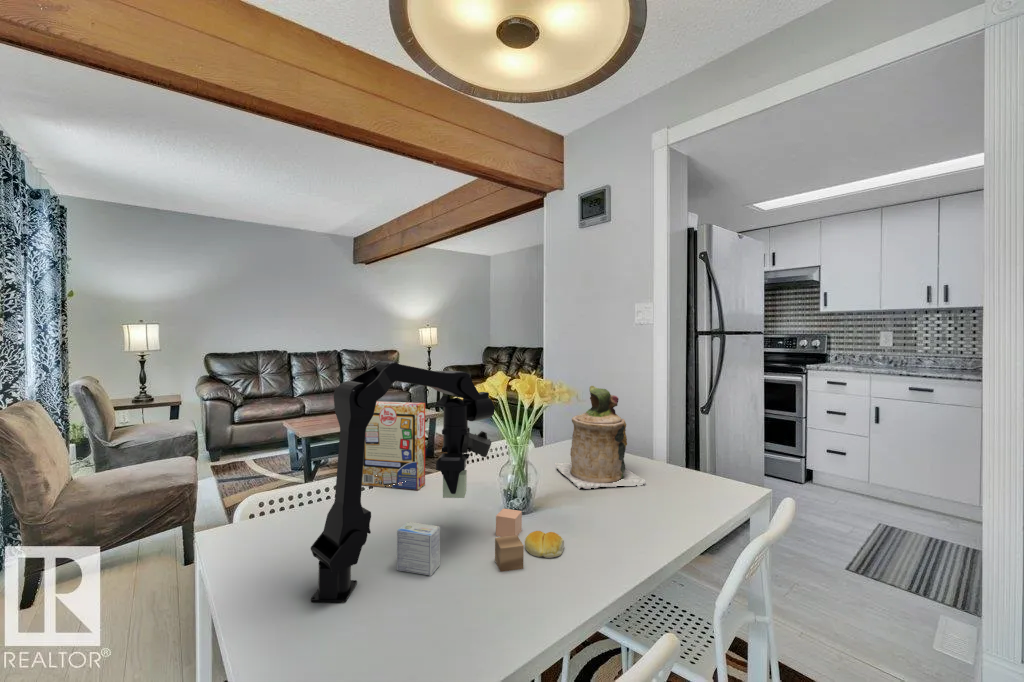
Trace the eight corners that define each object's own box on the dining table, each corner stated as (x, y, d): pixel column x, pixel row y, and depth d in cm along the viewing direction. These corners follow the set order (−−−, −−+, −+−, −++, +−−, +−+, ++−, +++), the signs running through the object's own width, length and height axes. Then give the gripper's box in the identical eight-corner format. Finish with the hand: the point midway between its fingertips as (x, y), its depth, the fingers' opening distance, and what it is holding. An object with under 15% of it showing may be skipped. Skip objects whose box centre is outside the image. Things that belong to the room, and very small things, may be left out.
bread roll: (529, 539, 106) (529, 523, 106) (565, 545, 104) (566, 528, 104) (520, 556, 98) (520, 538, 98) (559, 562, 96) (559, 544, 96)
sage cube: (464, 498, 102) (464, 476, 102) (442, 497, 102) (443, 476, 102) (466, 490, 107) (466, 469, 107) (445, 490, 107) (446, 469, 107)
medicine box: (440, 566, 93) (440, 525, 93) (430, 577, 89) (431, 534, 89) (406, 560, 95) (407, 521, 95) (396, 571, 91) (396, 529, 91)
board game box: (425, 484, 144) (426, 402, 144) (417, 491, 138) (418, 405, 137) (369, 479, 148) (369, 399, 148) (358, 485, 142) (359, 402, 142)
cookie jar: (578, 491, 139) (580, 391, 139) (553, 468, 163) (554, 383, 163) (648, 486, 145) (649, 389, 145) (613, 465, 169) (614, 382, 169)
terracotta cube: (514, 539, 106) (515, 518, 106) (495, 536, 108) (496, 515, 108) (521, 530, 111) (521, 511, 111) (503, 527, 113) (503, 508, 112)
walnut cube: (523, 569, 93) (523, 545, 93) (500, 572, 91) (500, 548, 91) (516, 557, 97) (517, 535, 97) (494, 560, 96) (495, 537, 96)
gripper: (487, 433, 95) (486, 505, 95) (491, 417, 113) (490, 477, 113) (436, 432, 95) (435, 504, 95) (447, 416, 113) (447, 476, 113)
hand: (454, 489), depth 104 cm, fingers closed on sage cube, 5 cm apart
